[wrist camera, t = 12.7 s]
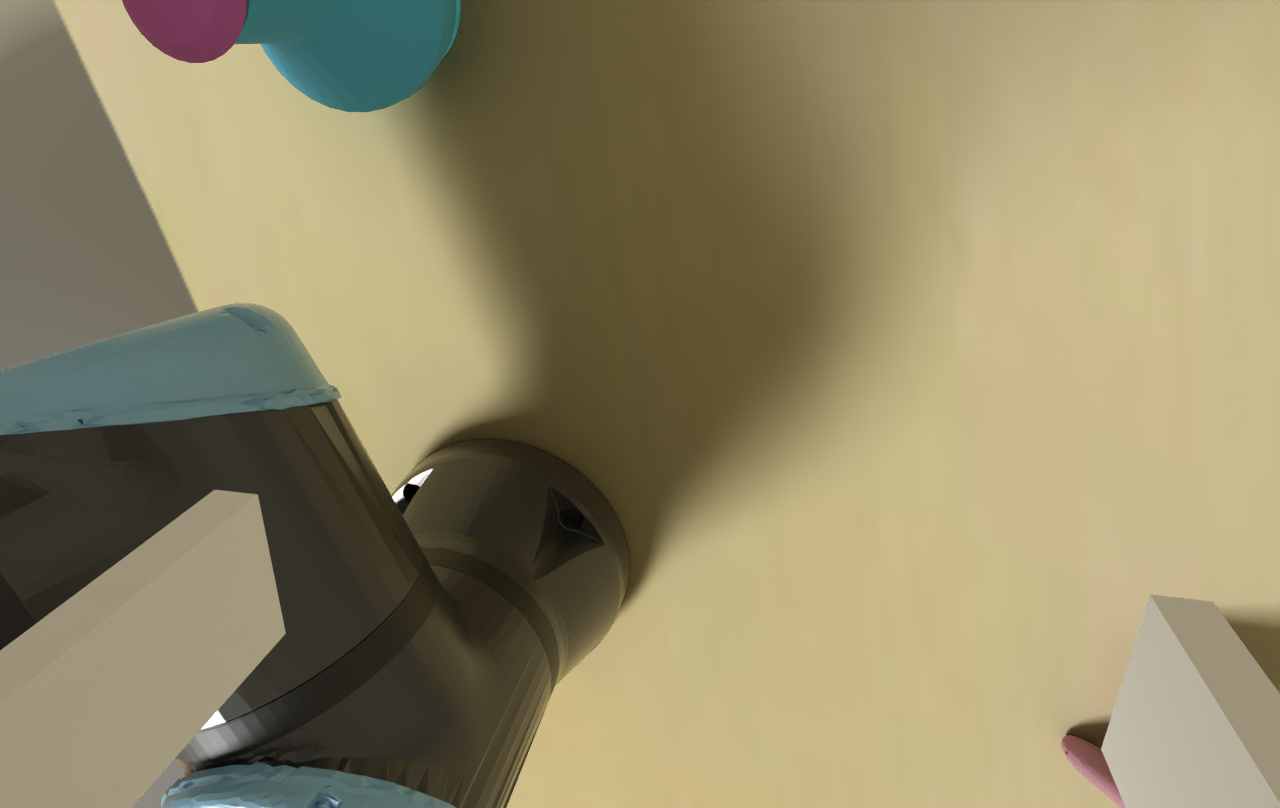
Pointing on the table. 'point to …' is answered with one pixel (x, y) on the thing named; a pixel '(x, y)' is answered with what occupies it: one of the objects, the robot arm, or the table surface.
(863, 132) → the table surface
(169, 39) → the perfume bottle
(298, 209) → the table surface
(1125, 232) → the table surface
